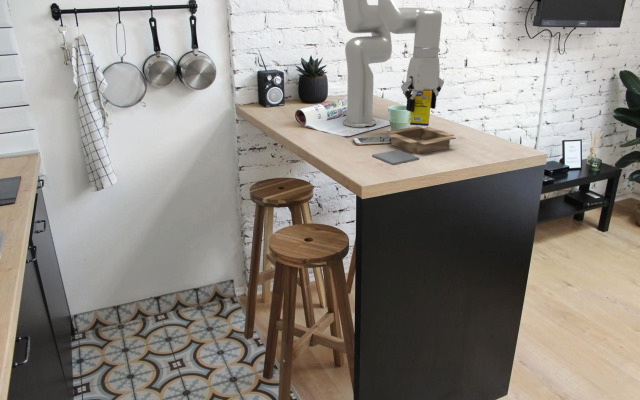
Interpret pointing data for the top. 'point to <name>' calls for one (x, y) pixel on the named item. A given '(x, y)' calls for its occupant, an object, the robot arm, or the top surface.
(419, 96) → the supplement box
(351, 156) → the top surface
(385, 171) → the top surface
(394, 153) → the coaster
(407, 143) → the carton
